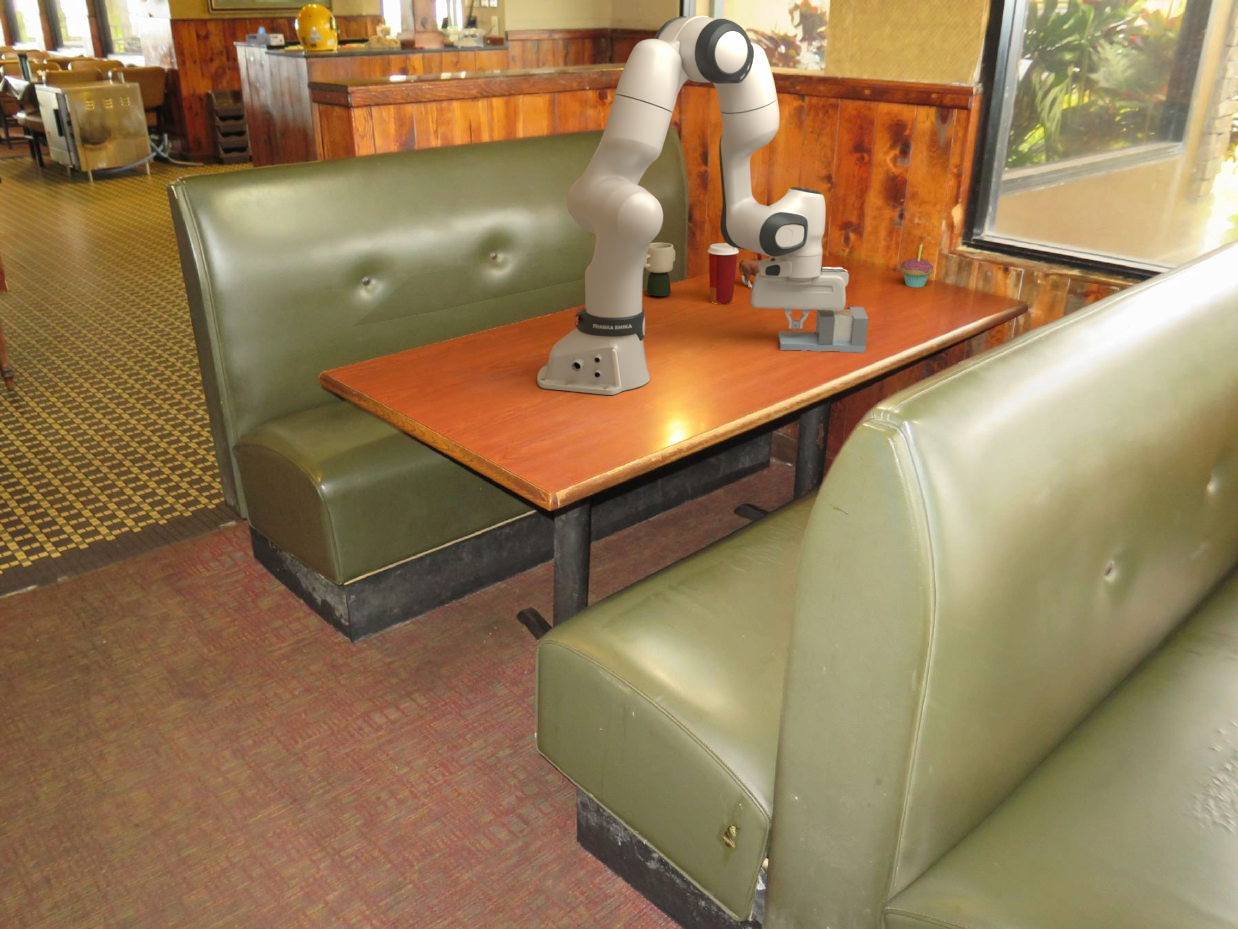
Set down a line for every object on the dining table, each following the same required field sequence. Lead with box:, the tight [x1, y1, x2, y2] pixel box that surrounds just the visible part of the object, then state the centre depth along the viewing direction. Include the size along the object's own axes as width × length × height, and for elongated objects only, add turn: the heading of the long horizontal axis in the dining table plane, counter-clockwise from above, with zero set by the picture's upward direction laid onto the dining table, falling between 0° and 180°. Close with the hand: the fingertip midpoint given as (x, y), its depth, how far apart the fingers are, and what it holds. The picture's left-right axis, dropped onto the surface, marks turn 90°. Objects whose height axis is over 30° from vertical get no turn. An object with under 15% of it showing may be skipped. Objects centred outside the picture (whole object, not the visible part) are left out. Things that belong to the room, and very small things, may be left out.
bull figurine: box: [738, 259, 761, 289], centre depth 262 cm, size 4×13×8 cm, turn 65°
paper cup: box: [707, 242, 740, 305], centre depth 249 cm, size 8×8×14 cm
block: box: [833, 308, 853, 343], centre depth 217 cm, size 4×5×6 cm
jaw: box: [814, 310, 835, 345], centre depth 218 cm, size 3×9×6 cm, turn 174°
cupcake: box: [899, 241, 934, 288], centre depth 263 cm, size 9×8×12 cm
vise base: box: [778, 305, 869, 354], centre depth 222 cm, size 18×17×8 cm
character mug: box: [644, 241, 676, 298], centre depth 254 cm, size 11×7×13 cm, turn 131°
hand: (795, 328), depth 218 cm, fingers closed
